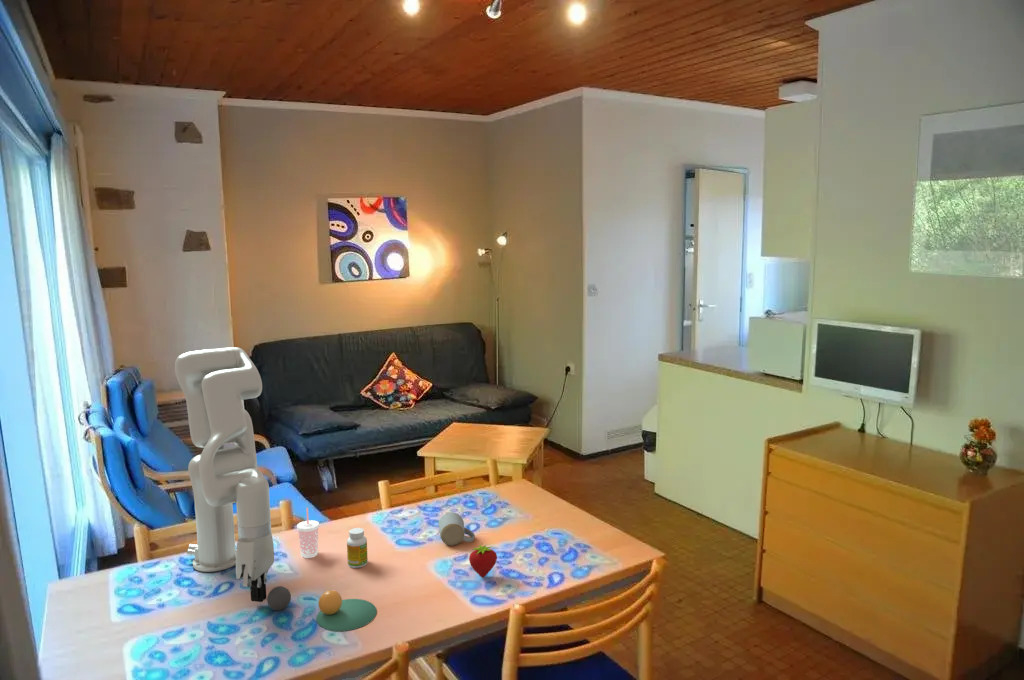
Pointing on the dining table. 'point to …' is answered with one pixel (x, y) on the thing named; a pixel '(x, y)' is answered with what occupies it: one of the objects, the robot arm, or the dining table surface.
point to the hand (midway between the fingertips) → (258, 599)
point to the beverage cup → (308, 537)
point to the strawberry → (482, 560)
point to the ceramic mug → (454, 529)
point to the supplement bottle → (357, 548)
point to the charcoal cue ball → (278, 598)
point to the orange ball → (330, 602)
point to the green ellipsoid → (348, 616)
